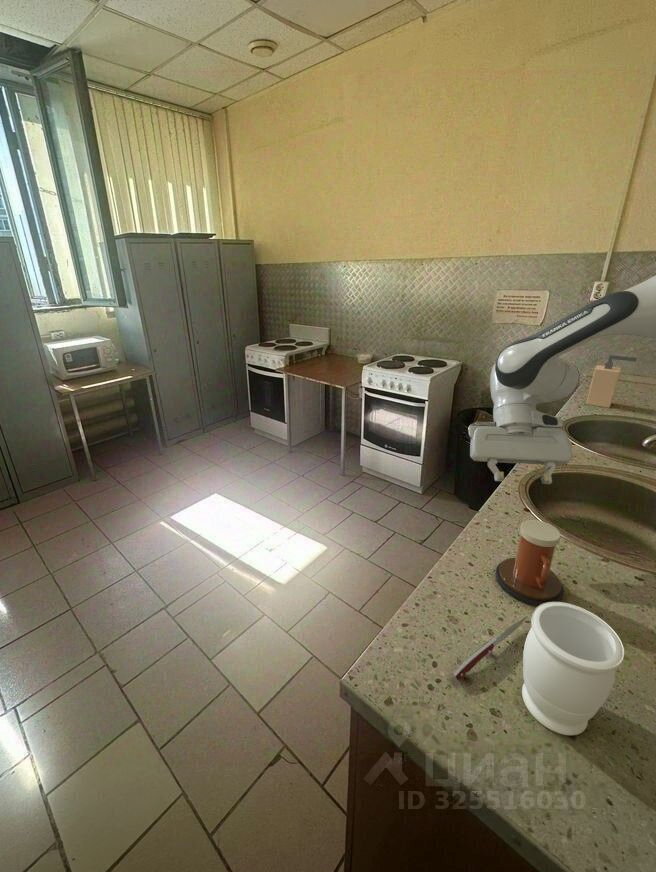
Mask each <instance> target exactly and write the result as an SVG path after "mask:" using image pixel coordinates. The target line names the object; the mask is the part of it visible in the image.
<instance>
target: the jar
mask: <svg viewBox="0 0 656 872" xmlns="http://www.w3.org/2000/svg"><path fill="white" fill-rule="evenodd" d="M530 623H531V624H530V625H531V626H530V629H529V631H528V633H527V636H526V639H525V642H524V645H523V654H522V660H523V661H522V675H523V684H522V687H521V696H522V700H523V702H524V705H525V707H526V708H527V710H528V711H529V713H530V714H531V715H532V717H533V718H534V719H535V720H536V721H538V722H539V724H541V725H542V726H544V727H545V728H547V729H549V730H550V731H552V732H554V733H556V734H560V735H563V736H577V735H580V734H582V733H584V732H585V730H586V729H587V727H588V723H589V720H591V719H592V718H594V716H595V715H596V714H597V713H598V711H599V710H600V709H601V707H602V706H603V705H604V704H605V702H606V701H607V700H608V699H609V697H610V695H611V692H612V690H613V688H614V684H615V680H616V672H617V669H618V668H619V667H620V666H621V664H622V662H623V660H624V656H625V647H624V645H623V643H622V641H621V638H620V637H619V635H618V634H617V633H616V631H615V630H614V629H613V628H612V627H611V626H610V625H609V624H608V623H607V622H606V621H604V620H603V619H602V618H600V617H599V616H598V615H596V614H595V613H593V612H591V611H589V610H588V609H585V608H583V607H580V606H578V605H575V604H573V603H568V602H563V601H560V602H547V603H543V604H541V605H539V606H536V607H535V609H534V610H533V612H532V616H531V620H530Z"/></svg>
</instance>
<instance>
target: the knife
mask: <svg viewBox="0 0 656 872" xmlns="http://www.w3.org/2000/svg"><path fill="white" fill-rule="evenodd" d="M527 618H528V616H525V617H523V618H522V619H520V620H518V621H517V622H515V623H514V624H512V625H510V626H508V627H507V628H506V629H504V631H503V632H502V633H501V634H500V635H498V636H497V637H493V638H491V640H489V641H487V642H486V643H484V644H483V645H482V646H480V647H479V648H478V649H477V650H476V651H475V652H474V653H473V654H471V656H469V657H468V658H467V659H466V660H465V661H464V662H462V663H461V664H460V666H459V667H457V669H456V670H455V671H454V672H453V673H452V676H453V677H454V678H455V679H456V680H457V681H459V682H460V681H462V679H463V678H465V676H467V674H468V673H469V672H470V671H471V670H472V669H473V668H474V667H475V666H476V665H477V664H478V663H479V662H480V661H482V659H483V658H484V657H486V656H487V655H488V654H489V655H491V654H492V652H493V650H494V648H495V647H496V646H497V645H498V644H500V643H501V642H502V641H504V640H505V639H506V638H508V637H509V636H510V635H511V634H513V633H514V632H515V631H516V630H517V629H519V627H521V626H522V625H523V623H524V622H525V621H526V620H527Z"/></svg>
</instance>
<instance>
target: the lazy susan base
mask: <svg viewBox="0 0 656 872" xmlns="http://www.w3.org/2000/svg"><path fill="white" fill-rule="evenodd" d="M502 562H503V561H501V562H500V563H498V565H497V566H496V568H495V574H494V575H495V580H496V582H497V584H498V585H499V587H500V588H501V589H502V590H503V591H504V592H505V593H506V594H507V595H509V596H510V597H511V598H513V599H515V600H516V601H519V602H520V603H524V604H525V605H529V606H533V607H538V606H539V605H541V604H543V603H547V602H562V599H563V596H564V586H563V584H562V583H561V592H560V594H559V595H558V596H557V597H556V598H554V599H551V600H544V601H543V600H535V599H530V598H527V597H525V596H522V595H520V594H518V593H516V592H515V591H513V590H512V589H510V588H509V587H508V586H507V585H506V584H505V583H504V582H503V581H502V579H501V577H500V575H499V567H500V564H501V563H502Z"/></svg>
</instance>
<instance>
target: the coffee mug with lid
mask: <svg viewBox="0 0 656 872" xmlns="http://www.w3.org/2000/svg"><path fill="white" fill-rule="evenodd" d="M519 533H520V536H519V540H518V545H517V550H516V554H515V557H509V558H507V559H504V560H502V561H501V562H502V563H501V562H500V563H501V564H500V563H499V564H500V567H499V575H500V577H501V579H502V581H503V582H504V583H505V584H506V585H507V586H508V587H509V588H510V589H512V590H513V591H515V592H516V593H518V594H520V595H522V596H525V597H527V598H530V599H535V600H543V601H544V600H551V599H554V598H556V597H557V596H558V595H559V594H560V592H561V584H562V583H561V580H560V579H559V577H558V575H556V574H555V572H554V571H552V570H551V566H552V563H553V561H554V560H553V559H554V555H555V552H556V547H557V546H558V544H559V543H560V539H561V532H560V531H559V529H558V528H557V527H555V526H554V525H553V524H550V523H548V522H546V521H543V520H539V519H525V520H523V521H522V522H521V523H520V527H519Z"/></svg>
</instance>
